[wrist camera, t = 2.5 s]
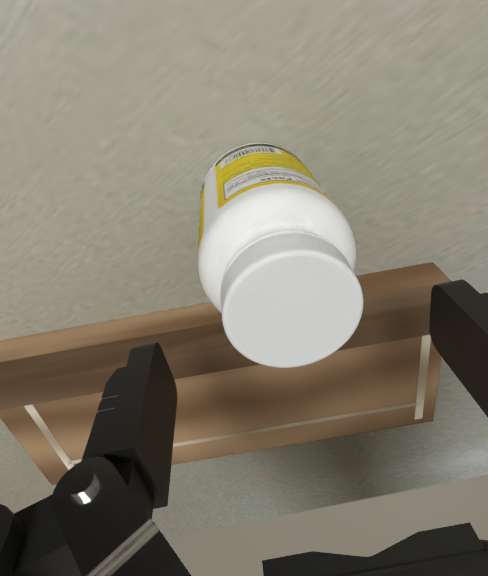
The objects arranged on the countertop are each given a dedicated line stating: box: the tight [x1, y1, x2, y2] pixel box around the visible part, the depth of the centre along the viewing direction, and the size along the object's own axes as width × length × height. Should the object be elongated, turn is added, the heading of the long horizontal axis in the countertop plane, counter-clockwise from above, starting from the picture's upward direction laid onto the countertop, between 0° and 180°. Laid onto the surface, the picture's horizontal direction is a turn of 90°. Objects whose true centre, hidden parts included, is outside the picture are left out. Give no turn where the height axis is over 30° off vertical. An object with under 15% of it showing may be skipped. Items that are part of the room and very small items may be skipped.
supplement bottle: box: [198, 143, 363, 368], centre depth 15 cm, size 5×5×10 cm
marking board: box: [0, 262, 452, 485], centre depth 23 cm, size 11×26×4 cm, turn 100°
